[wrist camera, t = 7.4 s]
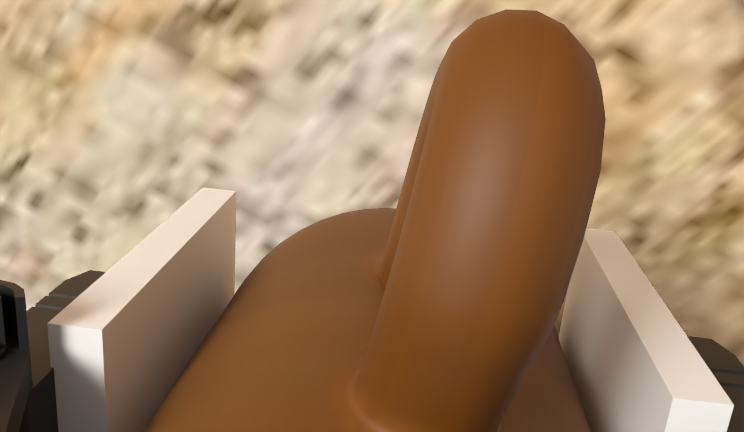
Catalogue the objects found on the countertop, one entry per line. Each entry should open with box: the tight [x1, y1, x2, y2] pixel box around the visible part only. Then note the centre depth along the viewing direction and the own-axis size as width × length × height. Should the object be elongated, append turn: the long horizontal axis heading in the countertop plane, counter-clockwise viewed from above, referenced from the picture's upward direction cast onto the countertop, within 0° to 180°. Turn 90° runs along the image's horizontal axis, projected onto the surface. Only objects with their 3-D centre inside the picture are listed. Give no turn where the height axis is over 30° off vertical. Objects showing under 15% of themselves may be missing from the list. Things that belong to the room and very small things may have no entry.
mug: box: [143, 10, 605, 432], centre depth 11 cm, size 12×8×9 cm, turn 166°
